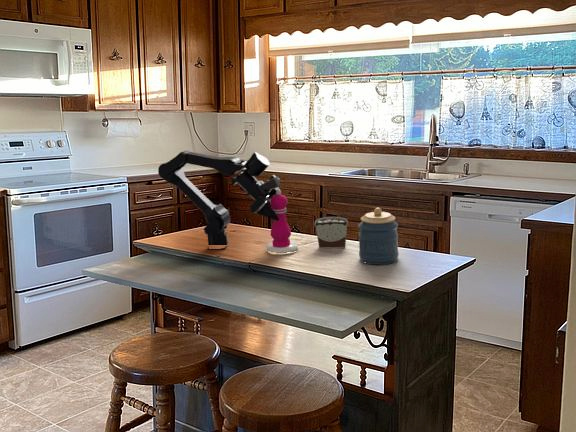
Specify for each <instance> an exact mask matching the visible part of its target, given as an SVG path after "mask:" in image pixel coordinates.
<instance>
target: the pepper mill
mask: <svg viewBox="0 0 576 432" xmlns="http://www.w3.org/2000/svg"><path fill="white" fill-rule="evenodd" d="M280 190H281V189H280ZM280 190H277V191H276V195H274V196H273V197H272V198H271V200H270V204H271V206H272V207H271V206H270V207H271V208H272V209H273V210H274V212H275V213H276V214H277V215H278V217H279V218H280V219H279V220H278V221H277V220H274V219H273V222H272V225H271V229H270V236H271V238H272V239H273V240H272V242H271V243H273V246H274V247H278V248H282V247H287V246H289V245H290V241H291V240H290V237H291V235H292V232H291V231H292V230H291V228H290V226H289V224H288V221H287V219H286V217H287V216H286V214H285V213H286V210H287V207H286V206H287V205H288V198H287V196H285V195H284V194H282V190H281V191H280Z"/></svg>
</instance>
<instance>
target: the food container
mask: <svg viewBox="0 0 576 432" xmlns="http://www.w3.org/2000/svg"><path fill="white" fill-rule="evenodd" d="M348 226H350V225H349V221H348V219H347V218H344V217H341V216H326V217H320V218H317V219H316V220H315V221H314V224H313V227H314V228H315V229H316V230H315V231H316V238H317V243H318V249H339V248H341V249H342V248H343V249H344V248H346V245H347V243H346V242H347V232H348V229H347V228H348Z"/></svg>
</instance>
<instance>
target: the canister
mask: <svg viewBox="0 0 576 432" xmlns="http://www.w3.org/2000/svg"><path fill="white" fill-rule="evenodd" d="M395 220H396V216H394V215H392V214H391V213H390V212H386V211H382V208H380V207H375V208H374V210H373V211H370V212H367V213H365V214H364V215H363V216H361V217H360V222H359V224H358V225H357V226H358V228H359V233H358V242H359V243H358V245H359V247H358V248H359V252H358V256H359V260H360V261H361V262H362V263H364V262H366V263H370V264H369V265H372V264H385V265H389V264H393V263H396V262H397V261H398V259H399V241H398V240H399V233H398V232H397V230H398V229H397V228H398V227H399V223H398V222H396V221H395ZM366 263H365V264H366Z"/></svg>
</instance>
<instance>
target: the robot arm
mask: <svg viewBox="0 0 576 432" xmlns="http://www.w3.org/2000/svg"><path fill="white" fill-rule="evenodd" d="M186 164H189V165H194V166H199V167H204V168H208V169H213V170H216V171H217V172H218V173H220V174H223V175H225V176H228V177H229V176H233V175H236V176H233V177H231V178H230V179H231V182H230V183H231V187H233V186H235V185H237V184H238V185H239V186H240V187H241V188H242V189H243V191H244V192H246V194H245V195H246V196H247V197H249V196H250V197H251V198H252V199H253V200H254V201H253V202H252V203H251V205H249V210H250V212H252V214H256V215H259V216H263V217H265V218H269V219H272V220H273V221H274V220H277V221H278V220H279V219H280V218H279V217H278V215H277V214H276V213H275V212H274V210H273V207H272V206H271V204H270V200H271V198H272V197H273V196H274V195H276V191H277V190H280V191H281V192H282V190H281V189H280V188H279V186H281V185H282V184H281V182H280V180H281V179H280V177H279V176H276V175H275V174H272V175H271V176H269V179H268V180H267V181H265V182H264V181H263V180H258V179H257V178H256V177H261V176H262V174H263V173H264V172H265V171H266V170H267V168H268V167H269V166H270V165H271V163H270V160H269V159H268V158H267V157H266V156H263V155H262V154H261V153H258V152H257V151H255V152H253V153H252V154H251V156H250V157H249V159H247V160H241V159H240V158H239V157H237V156H219V157H218V156H214V155H209V154H208V155H207V154H203V153H198V152H192V151H189V150H184V151H181V152H179V153H178V154H177V155H176V156H175V157H173V158H171V159H170V160H169V161H167V162H164V163H161V164H160V165H159V166H158V169H157V172H158V176H159V177H160V178H161V179H162V180H164V181H165V182H167V183H168V184H171V185H173V186H176V187H177V188H178V189H179V190H180V192H182V193H183V194H184V195H185V196H186V197H187V198H188V199H189V200H190V201H191V203H193V204H194V205H195V206H196V207H197V208H198V209H199V210H200V211H201V212H202V213H203V215H204V218H205V220H206V222H207V224H206V225H205V226H204V228H203V232H204V234H206V235H207V244H208V245H227V244H229V242H228V234H227V233H226V229H227V227H228V225H229V224H230V223H231V216H232V215H230V213H229V210H228V209H226V208H225V207H224V205H223V204H221V203H219V204H214V203H213V202H212V201H211V200H210V199H209V198H207V196H206V195H204V193H202V192H201V191H200V190H199V188H198V187H196V186H195V185H194V183H192V182H191V181H190V179H188V177H186V174H185V172H184V169H183V168H184V167H185V166H186ZM242 170H243V171H242ZM288 213H289V212H288V210H287V209H286V213H285V215H287V214H288ZM208 245H207V246H208ZM227 246H228V245H227Z"/></svg>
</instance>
